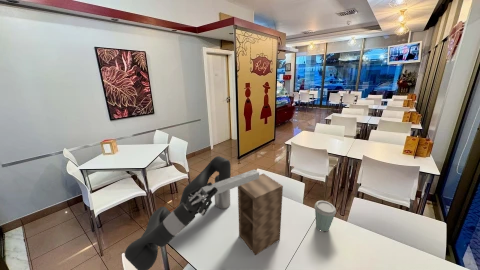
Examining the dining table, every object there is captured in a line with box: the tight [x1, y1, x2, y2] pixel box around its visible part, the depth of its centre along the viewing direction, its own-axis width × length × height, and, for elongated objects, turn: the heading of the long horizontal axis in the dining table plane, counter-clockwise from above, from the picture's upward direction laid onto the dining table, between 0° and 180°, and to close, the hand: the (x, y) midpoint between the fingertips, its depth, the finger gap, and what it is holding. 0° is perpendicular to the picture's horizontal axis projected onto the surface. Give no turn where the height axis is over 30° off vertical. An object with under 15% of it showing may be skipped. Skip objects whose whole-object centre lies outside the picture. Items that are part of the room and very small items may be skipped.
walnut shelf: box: [237, 173, 284, 256], centre depth 97 cm, size 16×14×32 cm
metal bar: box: [202, 169, 260, 196], centre depth 83 cm, size 26×4×3 cm, turn 123°
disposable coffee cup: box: [314, 200, 337, 232], centre depth 105 cm, size 11×11×15 cm
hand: (213, 186), depth 78 cm, fingers closed on metal bar, 3 cm apart
